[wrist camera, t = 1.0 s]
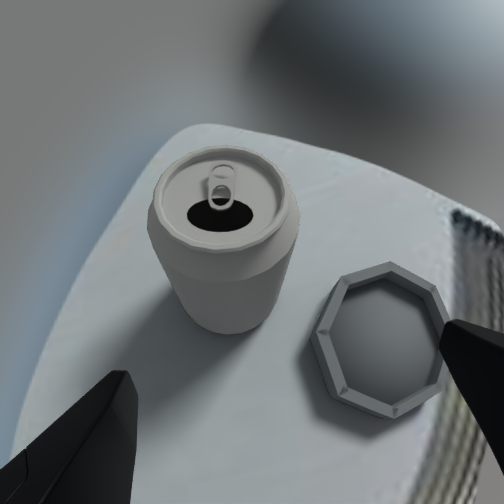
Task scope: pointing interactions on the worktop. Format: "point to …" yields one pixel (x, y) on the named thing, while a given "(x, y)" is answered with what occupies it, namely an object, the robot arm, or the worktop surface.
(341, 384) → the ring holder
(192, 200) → the can
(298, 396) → the worktop surface
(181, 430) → the worktop surface
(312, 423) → the worktop surface
